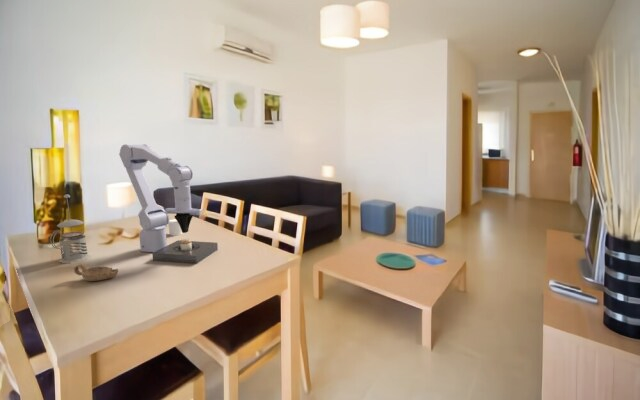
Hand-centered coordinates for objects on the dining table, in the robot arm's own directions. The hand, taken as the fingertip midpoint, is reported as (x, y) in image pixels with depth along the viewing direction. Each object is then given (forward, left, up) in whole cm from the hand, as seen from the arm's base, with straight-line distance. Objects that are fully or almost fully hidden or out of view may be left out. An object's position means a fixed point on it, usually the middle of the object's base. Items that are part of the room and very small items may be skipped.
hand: (185, 232), depth 124 cm
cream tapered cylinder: (-22, +26, -10) cm, 35 cm away
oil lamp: (-16, -26, -10) cm, 32 cm away
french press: (-40, -12, -10) cm, 43 cm away
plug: (0, 0, -9) cm, 9 cm away
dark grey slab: (0, 0, -9) cm, 9 cm away
